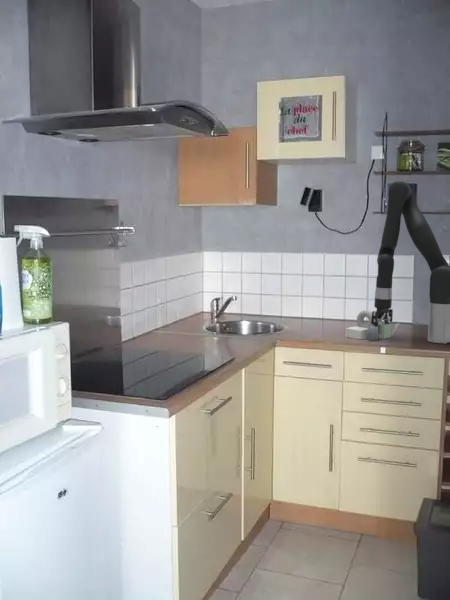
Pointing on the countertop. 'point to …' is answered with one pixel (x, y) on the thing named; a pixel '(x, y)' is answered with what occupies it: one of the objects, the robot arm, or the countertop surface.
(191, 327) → the countertop surface
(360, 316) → the donut
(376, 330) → the charcoal cylinder
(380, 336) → the sage cube
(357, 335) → the ceramic pedestal
